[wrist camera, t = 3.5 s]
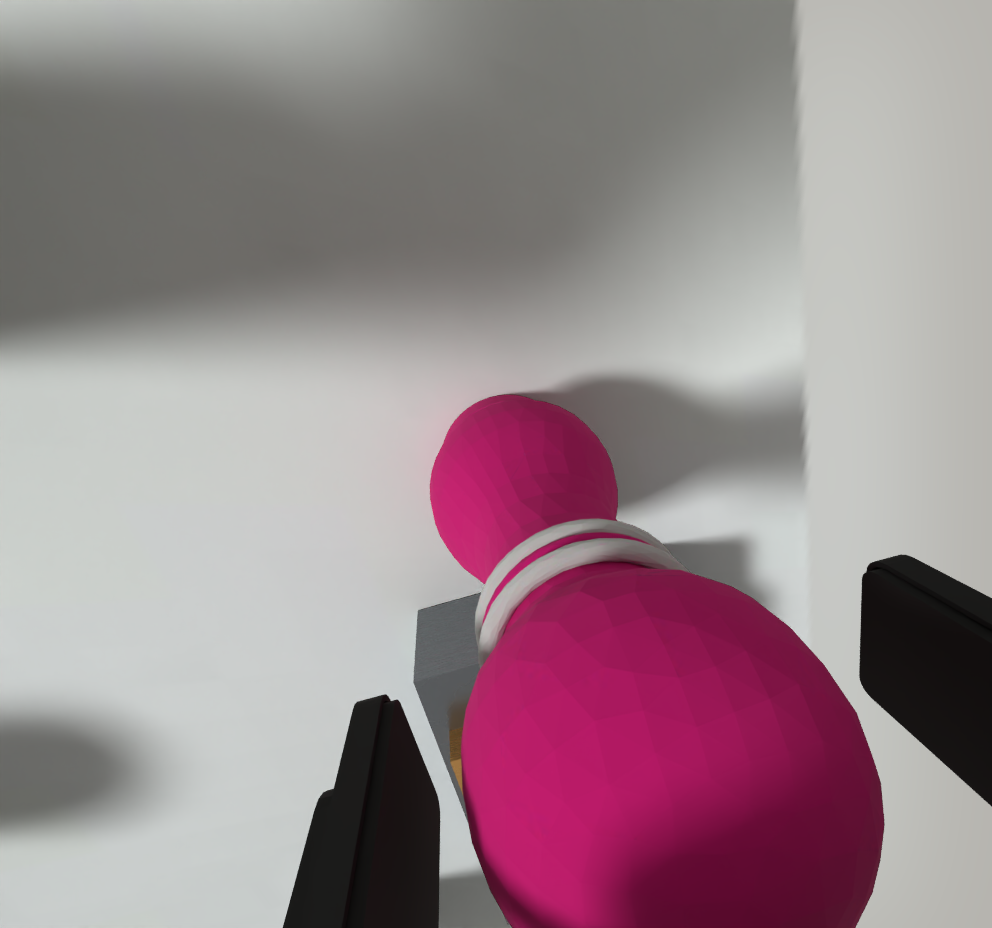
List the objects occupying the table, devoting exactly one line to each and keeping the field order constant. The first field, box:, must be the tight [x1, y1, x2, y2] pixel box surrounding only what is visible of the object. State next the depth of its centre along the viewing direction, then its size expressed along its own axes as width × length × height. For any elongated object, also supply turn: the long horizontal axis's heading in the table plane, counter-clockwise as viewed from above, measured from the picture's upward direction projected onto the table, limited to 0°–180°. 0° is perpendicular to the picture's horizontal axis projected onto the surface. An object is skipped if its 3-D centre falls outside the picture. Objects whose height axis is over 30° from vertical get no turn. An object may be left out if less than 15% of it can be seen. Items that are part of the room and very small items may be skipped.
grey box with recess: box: [414, 593, 509, 924], centre depth 25 cm, size 21×13×6 cm, turn 13°
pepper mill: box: [430, 395, 884, 928], centre depth 13 cm, size 7×7×20 cm
